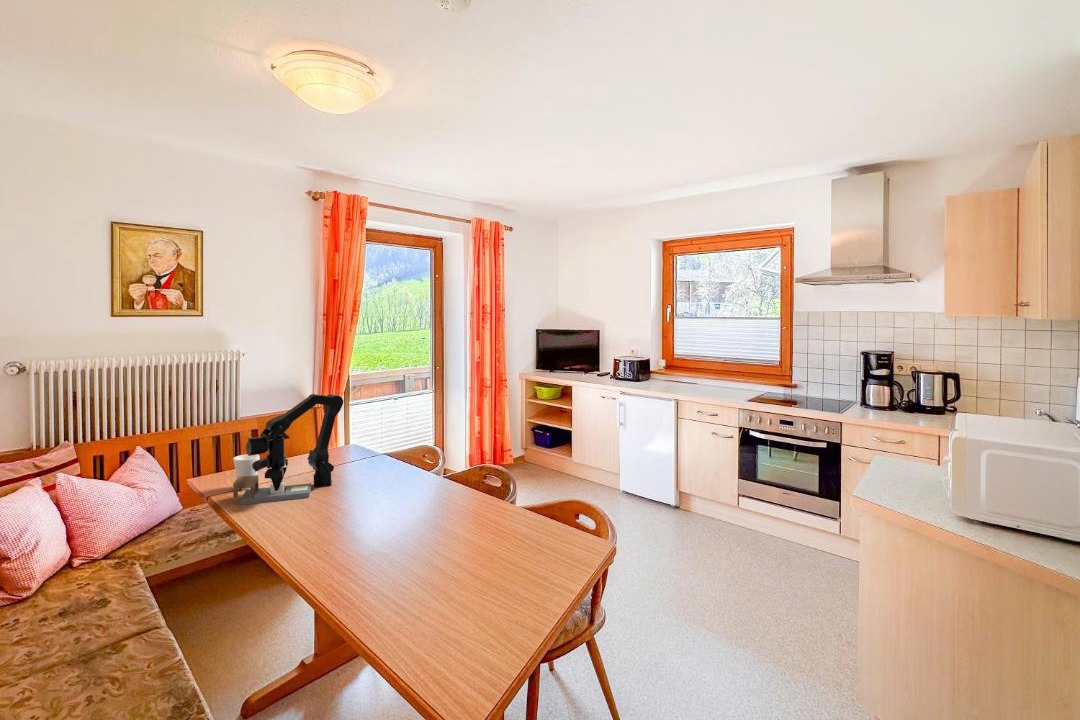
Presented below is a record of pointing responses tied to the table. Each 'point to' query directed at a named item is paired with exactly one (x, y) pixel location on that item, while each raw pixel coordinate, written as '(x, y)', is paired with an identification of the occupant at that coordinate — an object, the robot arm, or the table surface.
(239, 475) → the foam cup
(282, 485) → the block
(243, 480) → the slide cover
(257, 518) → the table surface
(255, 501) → the board
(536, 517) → the table surface
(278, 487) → the robot arm
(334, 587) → the table surface
